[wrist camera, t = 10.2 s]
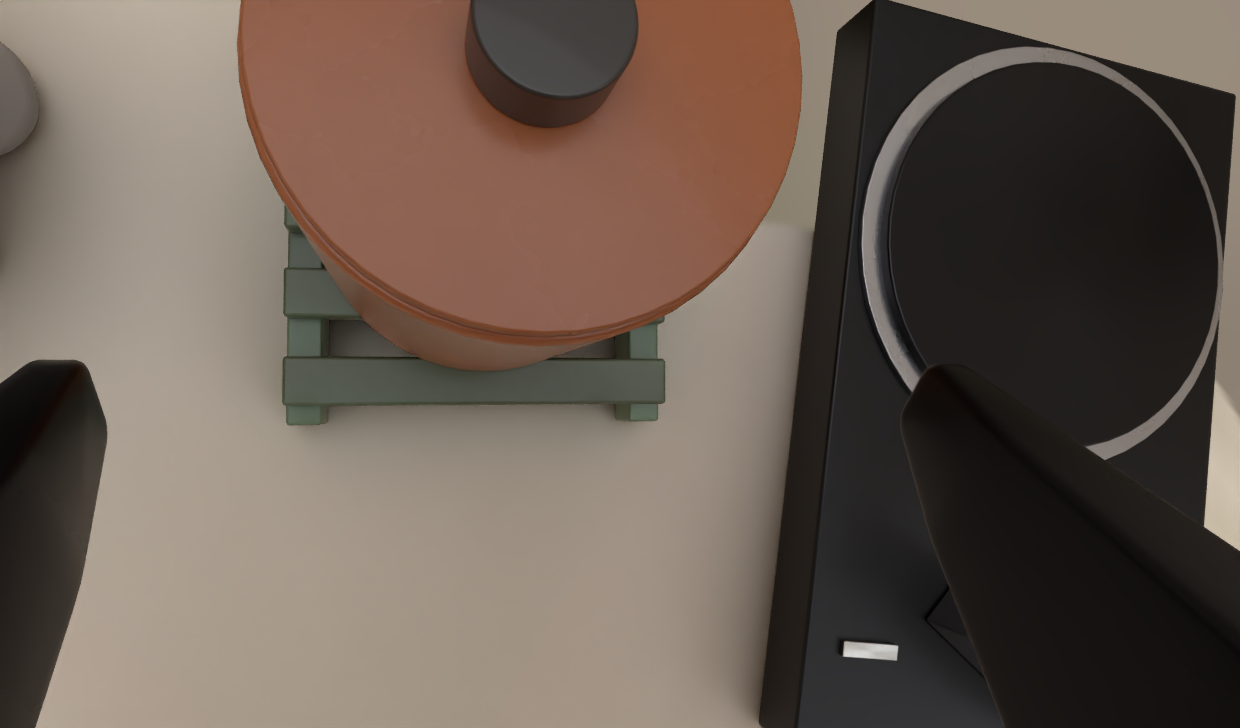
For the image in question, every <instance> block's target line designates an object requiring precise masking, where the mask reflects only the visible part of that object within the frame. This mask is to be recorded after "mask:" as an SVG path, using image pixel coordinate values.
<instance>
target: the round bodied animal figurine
mask: <svg viewBox="0 0 1240 728" xmlns="http://www.w3.org/2000/svg"><path fill="white" fill-rule="evenodd" d="M38 116H39V99H38V93H37V90H36V87H35V84H34V82H33V79H32V77H31V75H30V73H29V71H28V70H27V68H26V67H25V66H24V64H23V63H22V62H21V60H20V59H19V58H18V57H17V56H16V55H15V54H14V53H13V52H12V51H11V50H10V49H9V48H7V47H6V46H5V45H4V44H2V43H1V42H0V156H1V155H3V154H5V153H7V152H9V151H11V150H13V149H14V148H16V147H17V146H19V145H20V144H21V143H22V142H23V141H25V140H26V138H27V137H28V136H29V135H30V134H31V132H32V131H33V129H34V127H35V125H36V123H37V120H38Z"/></svg>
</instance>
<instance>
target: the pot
mask: <svg viewBox="0 0 1240 728" xmlns="http://www.w3.org/2000/svg"><path fill="white" fill-rule="evenodd" d="M237 51H238V68H239V83H240V88H241V93H242V98H243V103H244V108H245V113H246V118H247V122H248V125H249V128H250V130H251V133H252V136H253V139H254V142H255V145H256V148H257V151H258V153H259V156H260V159H261V161H262V163H263V165H264V167H265V169H266V171H267V173H268V175H269V177H270V179H271V181H272V183H273V185H274V187H275V189H276V190H277V192H278V194H279V196H280V197H281V199H282V201H283V202H284V204H285V205H286V207H287V208H288V210H289V212H290V213H291V215H292V216H293V218H294V219H295V221H296V222H297V224H298V226H299V227H300V229H301V230H302V232H303V233H304V235H305V236H306V238H307V240H308V241H309V243H310V244H311V246H312V247H313V249H314V251H315V252H316V254H317V255H318V257H319V258H320V260H321V261H322V263H323V265H324V266H325V268H326V269H327V271H328V272H329V274H330V276H331V277H332V279H333V280H334V282H335V283H336V285H337V286H338V288H339V289H340V291H341V292H342V294H343V295H344V297H345V298H346V300H347V301H348V303H349V304H350V305H351V307H352V308H353V309H354V310H355V311H356V312H357V313H358V314H359V316H360V317H361V318H362V319H363V320H364V321H365V322H366V323H367V324H368V325H369V326H371V327H372V328H373V329H374V330H375V331H376V332H377V333H379V334H380V335H381V336H382V337H384V338H385V339H387V340H388V341H390V342H391V343H393V344H394V345H396V346H397V347H399V348H400V349H402V350H404V351H406V352H408V353H410V354H412V355H414V356H417V357H419V358H421V359H423V360H426V361H429V362H432V363H435V364H438V365H441V366H446V367H451V368H456V369H461V370H472V371H498V370H509V369H514V368H519V367H524V366H528V365H531V364H534V363H537V362H540V361H543V360H546V359H549V358H552V357H555V356H558V355H561V354H563V353H566V352H569V351H572V350H575V349H578V348H581V347H584V346H587V345H590V344H593V343H596V342H599V341H602V340H605V339H608V338H610V337H613V336H616V335H619V334H622V333H625V332H628V331H631V330H634V329H637V328H640V327H643V326H645V325H647V324H649V323H651V322H653V321H655V320H657V319H659V318H661V317H663V316H665V315H667V314H669V313H671V312H673V311H674V310H676V309H677V308H679V307H680V306H682V305H683V304H684V303H686V302H687V301H689V300H690V299H692V298H693V297H695V296H696V295H698V294H699V293H701V292H702V291H703V290H704V289H705V288H706V287H707V286H708V285H709V284H710V283H712V282H713V281H714V280H715V279H716V278H717V277H718V276H719V275H720V274H722V273H723V272H724V271H725V270H726V269H727V267H728V266H729V265H730V264H731V263H732V261H733V260H734V259H735V258H736V257H737V256H738V254H739V253H740V252H741V251H742V250H743V248H744V247H745V246H746V245H747V243H748V241H749V240H750V238H751V237H752V235H753V234H754V232H755V231H756V229H757V228H758V226H759V225H760V223H761V221H762V220H763V218H764V217H765V215H766V213H767V212H768V210H769V209H770V207H771V205H772V203H773V201H774V199H775V197H776V194H777V192H778V190H779V188H780V186H781V184H782V182H783V179H784V177H785V175H786V171H787V168H788V165H789V162H790V158H791V155H792V151H793V149H794V145H795V140H796V134H797V129H798V123H799V117H800V111H801V91H802V70H801V56H800V44H799V39H798V34H797V28H796V23H795V18H794V13H793V9H792V6H791V4H790V0H241V4H240V15H239V26H238V37H237Z"/></svg>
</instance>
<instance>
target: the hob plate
mask: <svg viewBox="0 0 1240 728" xmlns="http://www.w3.org/2000/svg"><path fill="white" fill-rule="evenodd" d="M858 251H859V265H860V277H861V282H862V288H863V293H864V298H865V303H866V307H867V310H868V313H869V316H870V320H871V323H872V326H873V329H874V332H875V334H876V337H877V339H878V341H879V343H880V345H881V348H882V350H883V352H884V354H885V357H886V359H887V360H888V362H889V364H890V365H891V367H892V369H893V370H894V372H895V374H896V375H897V377H898V378H899V380H900V382H901V383H902V385H903V386H904V387H905V388H906V390H907V391H908V392H909V393H910V395H911V393H912V391H913V390H914V388H915V386H916V384H917V382H918V380H919V379H920V377H921V375H922V373H923V372H924V370H925V369H926V368H928V367H929V366H930V365H934V364H960V365H964V366H966V367H968V368H970V369H971V370H973V371H974V372H976V373H977V374H979V375H980V376H981V377H983V378H984V379H986V380H987V381H989V382H990V383H992V384H993V385H995V386H996V387H998V388H999V389H1001V390H1002V391H1004V392H1005V393H1007V394H1008V395H1010V396H1011V397H1012V398H1014V399H1015V400H1017V401H1018V402H1020V403H1021V404H1023V405H1024V406H1026V407H1027V408H1029V409H1030V410H1032V411H1033V412H1035V413H1036V414H1038V415H1039V416H1041V417H1042V418H1044V419H1045V420H1046V421H1048V422H1049V423H1051V424H1052V425H1054V426H1055V427H1057V428H1058V429H1060V430H1061V431H1063V432H1064V433H1066V434H1067V435H1069V436H1070V437H1072V438H1073V439H1075V440H1076V441H1077V442H1079V443H1080V444H1082V445H1083V446H1085V447H1086V448H1088V449H1089V450H1091V451H1092V452H1094V453H1095V454H1097V455H1098V456H1100V457H1101V458H1103V459H1104V460H1106V459H1108V458H1110V457H1113V456H1115V455H1117V454H1120V453H1122V452H1124V451H1126V450H1128V449H1130V448H1131V447H1133V446H1134V445H1136V444H1138V443H1139V442H1141V441H1143V440H1144V439H1146V438H1147V437H1148V436H1149V435H1150V434H1152V433H1153V432H1154V431H1155V430H1156V429H1158V428H1159V427H1160V426H1161V425H1162V424H1164V422H1165V421H1166V420H1167V419H1168V418H1169V417H1170V416H1171V415H1172V414H1173V413H1174V411H1175V410H1176V409H1177V408H1178V407H1179V406H1180V404H1181V403H1182V402H1183V400H1184V399H1185V397H1186V396H1187V394H1188V393H1189V391H1190V390H1191V388H1192V387H1193V385H1194V384H1195V382H1196V380H1197V378H1198V376H1199V374H1200V372H1201V370H1202V368H1203V366H1204V364H1205V362H1206V359H1207V356H1208V353H1209V351H1210V348H1211V345H1212V343H1213V340H1214V336H1215V332H1216V328H1217V323H1218V319H1219V315H1220V307H1221V299H1222V292H1223V255H1222V244H1221V235H1220V230H1219V225H1218V220H1217V215H1216V211H1215V207H1214V204H1213V201H1212V197H1211V194H1210V191H1209V187H1208V185H1207V183H1206V180H1205V178H1204V176H1203V173H1202V171H1201V168H1200V166H1199V164H1198V162H1197V160H1196V158H1195V156H1194V155H1193V153H1192V151H1191V149H1190V147H1189V146H1188V144H1187V142H1186V140H1185V139H1184V138H1183V136H1182V135H1181V133H1180V132H1179V130H1178V129H1177V128H1176V126H1175V125H1174V123H1173V122H1172V121H1171V119H1170V118H1169V117H1168V116H1167V115H1166V114H1165V113H1164V111H1163V110H1162V109H1161V108H1160V107H1159V106H1158V105H1157V104H1156V102H1155V101H1154V100H1152V99H1151V98H1150V97H1149V96H1148V95H1147V94H1146V93H1144V92H1143V91H1142V90H1141V89H1140V88H1139V87H1138V86H1137V85H1135V84H1134V83H1132V82H1131V81H1130V80H1128V79H1127V78H1125V77H1124V76H1122V75H1121V74H1119V73H1118V72H1116V71H1115V70H1113V69H1111V68H1109V67H1107V66H1105V65H1103V64H1101V63H1099V62H1097V61H1095V60H1093V59H1090V58H1087V57H1084V56H1081V55H1078V54H1075V53H1073V52H1068V51H1063V50H1058V49H1053V48H1044V47H1017V48H1008V49H1000V50H996V51H993V52H989V53H985V54H982V55H978V56H976V57H974V58H971V59H969V60H967V61H965V62H962V63H960V64H958V65H956V66H954V67H953V68H951V69H950V70H948V71H947V72H945V73H943V74H942V75H940V76H939V77H937V78H936V79H934V80H933V81H932V82H930V83H929V84H928V85H927V86H926V87H925V88H924V89H922V90H921V91H920V92H919V93H918V94H917V95H916V96H915V97H914V98H913V99H912V100H911V101H910V102H909V104H908V105H907V106H906V107H905V108H904V110H903V111H902V112H901V113H900V114H899V115H898V117H897V118H896V120H895V121H894V123H893V125H892V126H891V128H890V129H889V131H888V133H887V134H886V136H885V137H884V139H883V141H882V144H881V146H880V148H879V150H878V152H877V155H876V157H875V159H874V161H873V163H872V167H871V170H870V173H869V177H868V180H867V183H866V186H865V190H864V195H863V201H862V207H861V213H860V220H859V240H858Z"/></svg>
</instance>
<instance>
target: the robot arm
mask: <svg viewBox="0 0 1240 728" xmlns="http://www.w3.org/2000/svg"><path fill="white" fill-rule="evenodd" d="M900 430H901V435H902V438H903V442H904V446H905V449H906V453H907V456H908V460H909V464H910V467H911V471H912V475H913V478H914V482H915V485H916V489H917V493H918V496H919V500H920V504H921V507H922V511H923V515H924V518H925V522H926V525H927V528H928V532H929V535H930V538H931V541H932V544H933V547H934V549H935V552H936V555H937V558H938V560H939V563H940V565H941V568H942V570H943V573H944V576H945V578H946V581H947V583H948V586H949V588H950V591H951V593H952V596H953V598H954V601H955V604H956V606H957V609H958V611H959V614H960V616H961V619H962V621H963V624H964V626H965V629H966V631H967V634H968V637H969V639H970V642H971V644H972V647H973V649H974V652H975V654H976V657H977V659H978V662H979V664H980V667H981V670H982V672H983V675H984V677H985V680H986V682H987V685H988V687H989V690H990V692H991V695H992V698H993V700H994V703H995V705H996V708H997V710H998V713H999V715H1000V718H1001V720H1002V723H1003V725H1004V728H1240V551H1239V550H1237V549H1236V548H1234V547H1233V546H1231V545H1230V544H1228V543H1227V542H1225V541H1224V540H1222V539H1221V538H1219V537H1218V536H1216V535H1215V534H1214V533H1212V532H1211V531H1209V530H1208V529H1206V528H1205V527H1203V526H1202V525H1200V524H1199V523H1197V522H1196V521H1194V520H1193V519H1191V518H1190V517H1188V516H1187V515H1185V514H1184V513H1182V512H1181V511H1179V510H1178V509H1177V508H1175V507H1174V506H1172V505H1171V504H1169V503H1168V502H1166V501H1165V500H1163V499H1162V498H1160V497H1159V496H1157V495H1156V494H1154V493H1153V492H1151V491H1150V490H1148V489H1147V488H1145V487H1144V486H1143V485H1141V484H1140V483H1138V482H1137V481H1135V480H1134V479H1132V478H1131V477H1129V476H1128V475H1126V474H1125V473H1123V472H1122V471H1120V470H1119V469H1117V468H1116V467H1114V466H1113V465H1111V464H1110V463H1109V462H1107V461H1106V460H1104V459H1103V458H1101V457H1100V456H1098V455H1097V454H1095V453H1094V452H1092V451H1091V450H1089V449H1088V448H1086V447H1085V446H1083V445H1082V444H1080V443H1079V442H1077V441H1076V440H1075V439H1073V438H1072V437H1070V436H1069V435H1067V434H1066V433H1064V432H1063V431H1061V430H1060V429H1058V428H1057V427H1055V426H1054V425H1052V424H1051V423H1049V422H1048V421H1046V420H1045V419H1044V418H1042V417H1041V416H1039V415H1038V414H1036V413H1035V412H1033V411H1032V410H1030V409H1029V408H1027V407H1026V406H1024V405H1023V404H1021V403H1020V402H1018V401H1017V400H1015V399H1014V398H1012V397H1011V396H1010V395H1008V394H1007V393H1005V392H1004V391H1002V390H1001V389H999V388H998V387H996V386H995V385H993V384H992V383H990V382H989V381H987V380H986V379H984V378H983V377H981V376H980V375H979V374H977V373H976V372H974V371H973V370H971V369H970V368H968V367H966V366H964V365H960V364H934V365H930V366H929V367H928V368H926V369H925V370H924V372H923V373H922V375H921V377H920V379H919V380H918V382H917V384H916V386H915V388H914V390H913V391H912V393H911V395H910V397H909V399H908V401H907V402H906V404H905V406H904V408H903V410H902V413H901V417H900ZM106 444H107V425H106V419H105V416H104V413H103V410H102V407H101V404H100V401H99V399H98V396H97V393H96V390H95V387H94V384H93V381H92V378H91V375H90V372H89V370H88V368H87V367H86V366H85V364H84V363H82V362H80V361H77V360H36V361H32V362H30V363H28V364H26V365H25V366H23V367H22V368H21V369H19V370H18V371H17V372H15V373H14V374H13V375H11V376H10V377H9V378H7V379H6V380H5V381H3V382H2V383H1V384H0V728H35V727H36V724H37V721H38V718H39V714H40V711H41V708H42V705H43V702H44V699H45V696H46V693H47V690H48V686H49V683H50V680H51V677H52V674H53V671H54V668H55V665H56V661H57V658H58V655H59V652H60V649H61V646H62V643H63V640H64V637H65V633H66V630H67V627H68V624H69V621H70V618H71V615H72V612H73V609H74V605H75V602H76V598H77V595H78V591H79V588H80V584H81V580H82V575H83V570H84V565H85V560H86V555H87V549H88V544H89V538H90V533H91V527H92V522H93V516H94V511H95V505H96V500H97V494H98V488H99V483H100V477H101V472H102V466H103V461H104V455H105V450H106Z"/></svg>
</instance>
